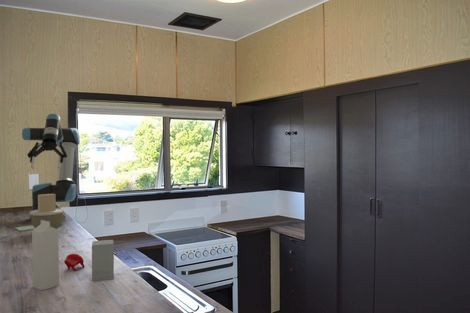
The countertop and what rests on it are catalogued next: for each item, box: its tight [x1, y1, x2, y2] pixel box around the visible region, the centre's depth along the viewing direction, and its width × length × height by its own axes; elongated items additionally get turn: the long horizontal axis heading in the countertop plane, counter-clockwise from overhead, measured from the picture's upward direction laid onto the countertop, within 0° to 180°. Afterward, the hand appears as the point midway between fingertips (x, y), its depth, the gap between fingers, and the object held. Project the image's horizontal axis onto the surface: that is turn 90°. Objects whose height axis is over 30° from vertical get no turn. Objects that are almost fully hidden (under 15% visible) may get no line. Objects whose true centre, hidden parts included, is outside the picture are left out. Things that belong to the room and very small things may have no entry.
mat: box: [14, 224, 35, 232], centre depth 226 cm, size 11×10×1 cm
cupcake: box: [58, 205, 66, 226], centre depth 236 cm, size 9×8×12 cm
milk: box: [31, 220, 60, 291], centre depth 131 cm, size 6×6×22 cm
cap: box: [63, 253, 85, 272], centre depth 150 cm, size 8×6×6 cm
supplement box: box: [91, 239, 115, 282], centre depth 140 cm, size 7×7×13 cm
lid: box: [29, 194, 65, 216], centre depth 215 cm, size 17×17×10 cm
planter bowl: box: [30, 212, 64, 230], centre depth 215 cm, size 16×16×11 cm
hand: (45, 167), depth 215 cm, fingers open, 13 cm apart
